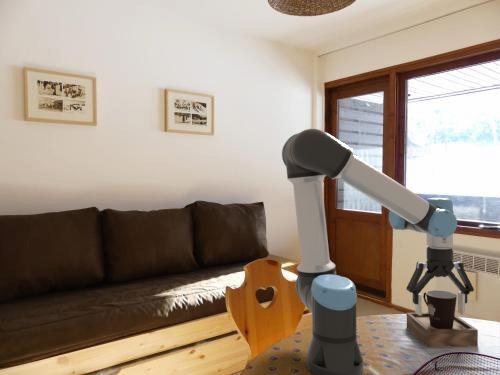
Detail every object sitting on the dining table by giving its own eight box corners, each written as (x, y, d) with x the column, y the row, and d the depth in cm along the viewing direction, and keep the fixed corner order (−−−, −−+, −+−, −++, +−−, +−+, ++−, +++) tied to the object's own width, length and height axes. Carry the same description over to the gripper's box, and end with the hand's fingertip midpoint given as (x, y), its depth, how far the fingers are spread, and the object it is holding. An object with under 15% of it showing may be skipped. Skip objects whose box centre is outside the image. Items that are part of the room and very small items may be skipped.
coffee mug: (460, 332, 114) (460, 299, 114) (430, 330, 116) (429, 297, 116) (449, 318, 126) (449, 287, 126) (421, 316, 128) (421, 286, 127)
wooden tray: (427, 347, 114) (427, 330, 114) (406, 327, 129) (406, 312, 129) (477, 346, 114) (477, 329, 114) (451, 326, 129) (451, 312, 129)
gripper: (404, 249, 117) (405, 318, 117) (486, 248, 117) (486, 317, 117) (395, 245, 124) (396, 310, 125) (472, 244, 124) (472, 309, 125)
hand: (439, 313), depth 121 cm, fingers open, 13 cm apart
